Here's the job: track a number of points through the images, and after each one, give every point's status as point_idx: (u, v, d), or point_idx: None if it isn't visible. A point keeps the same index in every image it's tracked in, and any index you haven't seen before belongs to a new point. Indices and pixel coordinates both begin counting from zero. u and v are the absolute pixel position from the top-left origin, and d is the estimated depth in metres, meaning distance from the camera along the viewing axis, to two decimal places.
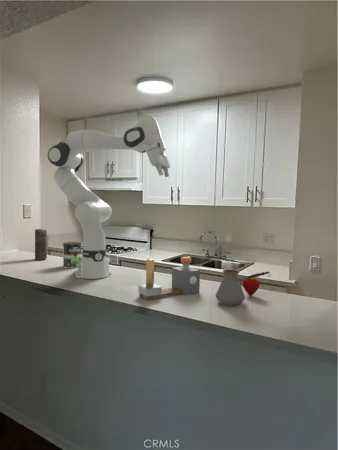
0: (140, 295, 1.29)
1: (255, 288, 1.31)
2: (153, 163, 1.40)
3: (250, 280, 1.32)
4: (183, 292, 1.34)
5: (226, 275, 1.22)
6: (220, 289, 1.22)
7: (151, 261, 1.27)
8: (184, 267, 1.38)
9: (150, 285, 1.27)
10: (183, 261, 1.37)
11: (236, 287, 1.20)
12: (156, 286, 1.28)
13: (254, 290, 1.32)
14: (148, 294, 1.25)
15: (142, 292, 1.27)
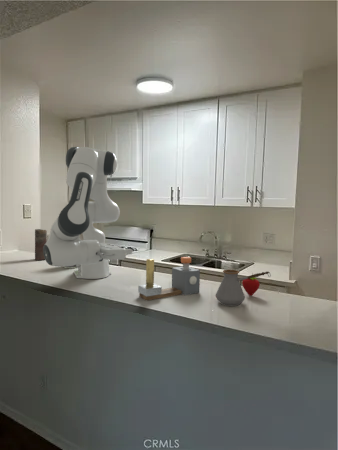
0: (140, 295, 1.29)
1: (255, 288, 1.31)
2: None
3: (250, 280, 1.32)
4: (183, 292, 1.34)
5: (226, 275, 1.22)
6: (220, 289, 1.22)
7: (151, 261, 1.27)
8: (184, 267, 1.38)
9: (150, 285, 1.27)
10: (183, 261, 1.37)
11: (236, 287, 1.20)
12: (156, 286, 1.28)
13: (254, 290, 1.32)
14: (148, 294, 1.25)
15: (142, 292, 1.27)
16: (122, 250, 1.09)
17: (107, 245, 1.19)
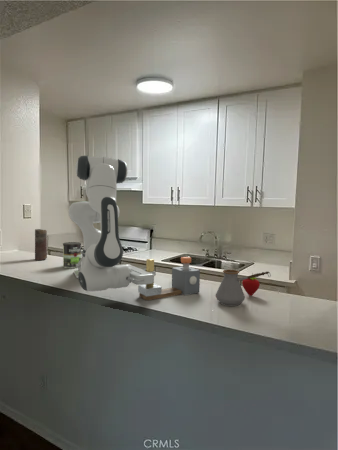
0: (140, 295, 1.29)
1: (255, 288, 1.31)
2: None
3: (250, 280, 1.32)
4: (183, 292, 1.34)
5: (226, 275, 1.22)
6: (220, 289, 1.22)
7: (151, 261, 1.27)
8: (184, 267, 1.38)
9: (150, 285, 1.27)
10: (183, 261, 1.37)
11: (236, 287, 1.20)
12: (156, 286, 1.28)
13: (254, 290, 1.32)
14: (148, 294, 1.25)
15: (142, 292, 1.27)
16: (151, 275, 1.17)
17: (135, 268, 1.27)
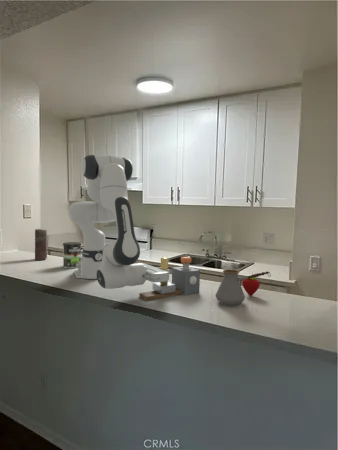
0: (140, 295, 1.29)
1: (255, 288, 1.31)
2: None
3: (250, 280, 1.32)
4: (183, 292, 1.34)
5: (226, 275, 1.22)
6: (220, 289, 1.22)
7: (165, 259, 1.31)
8: (184, 267, 1.38)
9: (164, 283, 1.31)
10: (183, 261, 1.37)
11: (236, 287, 1.20)
12: (170, 284, 1.32)
13: (254, 290, 1.32)
14: (163, 291, 1.29)
15: (157, 290, 1.31)
16: (166, 273, 1.21)
17: (150, 266, 1.31)
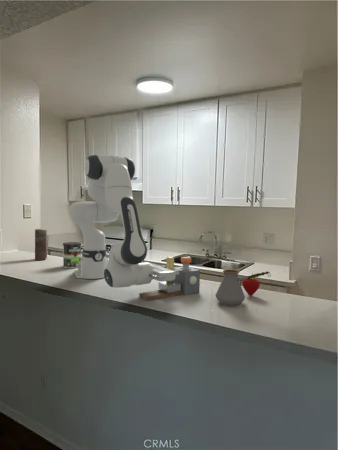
0: (140, 295, 1.29)
1: (255, 288, 1.31)
2: None
3: (250, 280, 1.32)
4: (183, 292, 1.34)
5: (226, 275, 1.22)
6: (220, 289, 1.22)
7: (171, 259, 1.32)
8: (184, 267, 1.38)
9: (170, 282, 1.33)
10: (183, 261, 1.37)
11: (236, 287, 1.20)
12: (176, 283, 1.34)
13: (254, 290, 1.32)
14: (169, 290, 1.30)
15: (163, 289, 1.33)
16: (172, 272, 1.23)
17: (156, 266, 1.32)
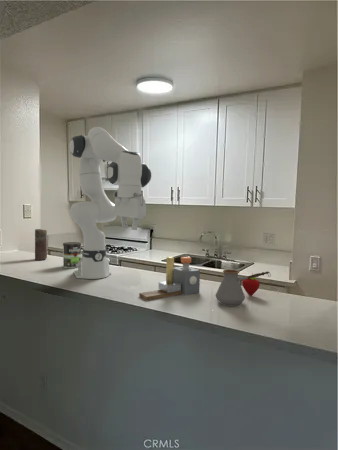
0: (140, 295, 1.29)
1: (255, 288, 1.31)
2: None
3: (250, 280, 1.32)
4: (183, 292, 1.34)
5: (226, 275, 1.22)
6: (220, 289, 1.22)
7: (171, 259, 1.32)
8: (184, 267, 1.38)
9: (170, 282, 1.33)
10: (183, 261, 1.37)
11: (236, 287, 1.20)
12: (176, 283, 1.34)
13: (254, 290, 1.32)
14: (169, 290, 1.30)
15: (163, 289, 1.33)
16: (145, 213, 1.14)
17: None
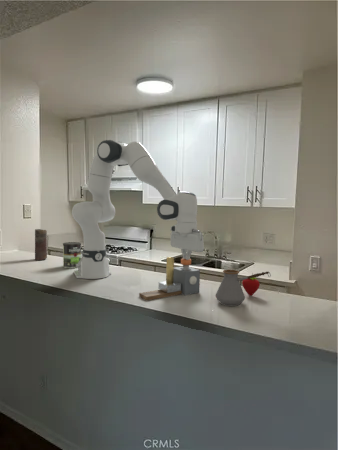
0: (140, 295, 1.29)
1: (255, 288, 1.31)
2: None
3: (250, 280, 1.32)
4: (183, 292, 1.34)
5: (226, 275, 1.22)
6: (220, 289, 1.22)
7: (171, 259, 1.32)
8: (184, 269, 1.38)
9: (170, 282, 1.33)
10: (183, 263, 1.37)
11: (236, 287, 1.20)
12: (176, 283, 1.34)
13: (254, 290, 1.32)
14: (169, 290, 1.30)
15: (163, 289, 1.33)
16: (203, 247, 1.31)
17: None
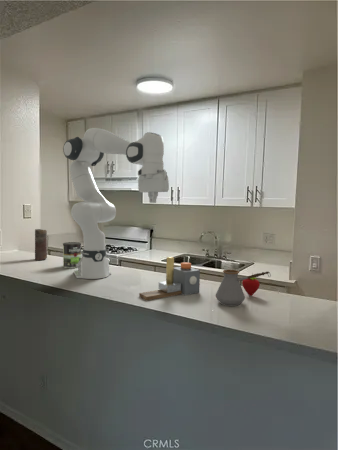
0: (140, 295, 1.29)
1: (255, 288, 1.31)
2: None
3: (250, 280, 1.32)
4: (183, 292, 1.34)
5: (226, 275, 1.22)
6: (220, 289, 1.22)
7: (171, 259, 1.32)
8: None
9: (170, 282, 1.33)
10: (183, 267, 1.37)
11: (236, 287, 1.20)
12: (176, 283, 1.34)
13: (254, 290, 1.32)
14: (169, 290, 1.30)
15: (163, 289, 1.33)
16: (168, 187, 1.28)
17: None
